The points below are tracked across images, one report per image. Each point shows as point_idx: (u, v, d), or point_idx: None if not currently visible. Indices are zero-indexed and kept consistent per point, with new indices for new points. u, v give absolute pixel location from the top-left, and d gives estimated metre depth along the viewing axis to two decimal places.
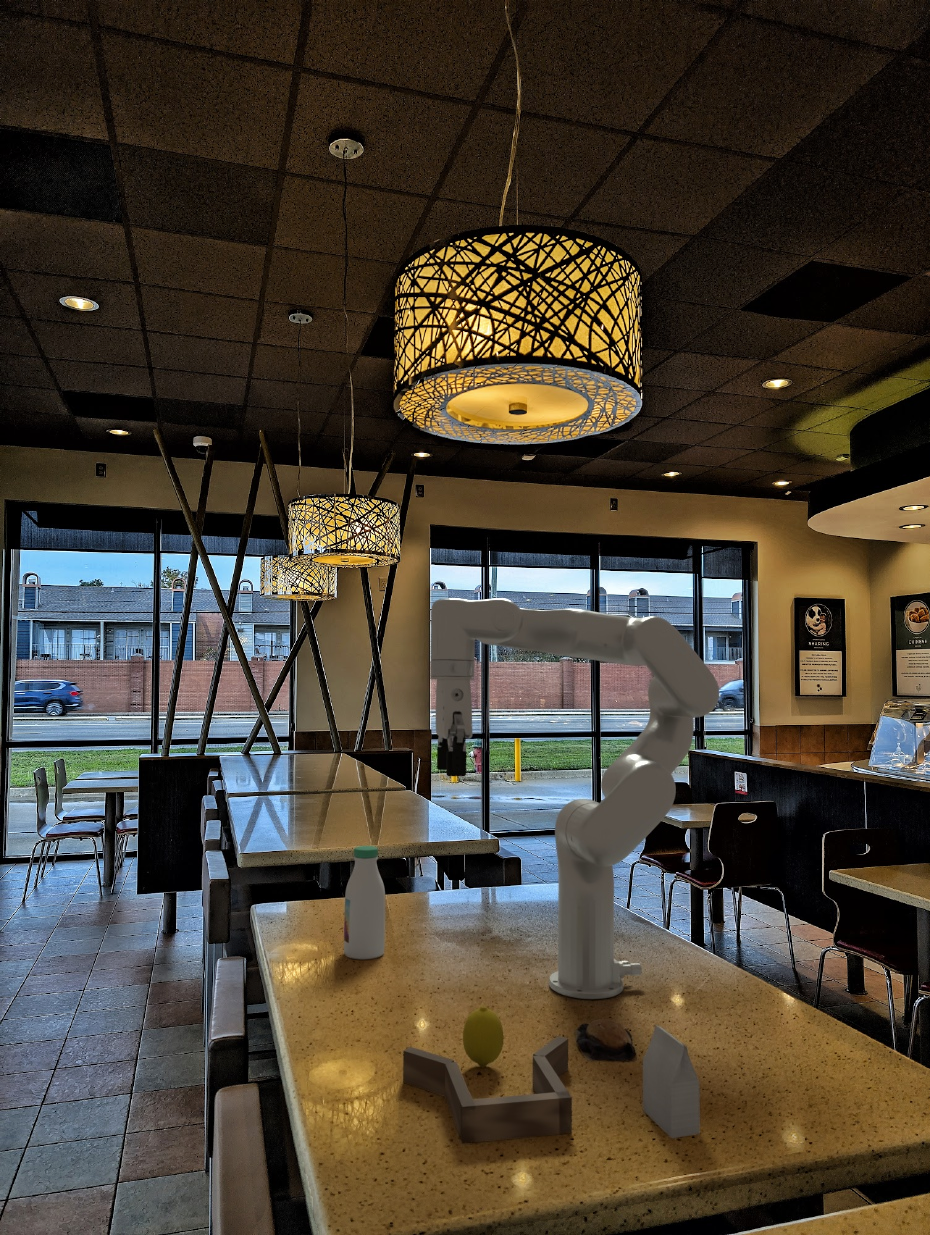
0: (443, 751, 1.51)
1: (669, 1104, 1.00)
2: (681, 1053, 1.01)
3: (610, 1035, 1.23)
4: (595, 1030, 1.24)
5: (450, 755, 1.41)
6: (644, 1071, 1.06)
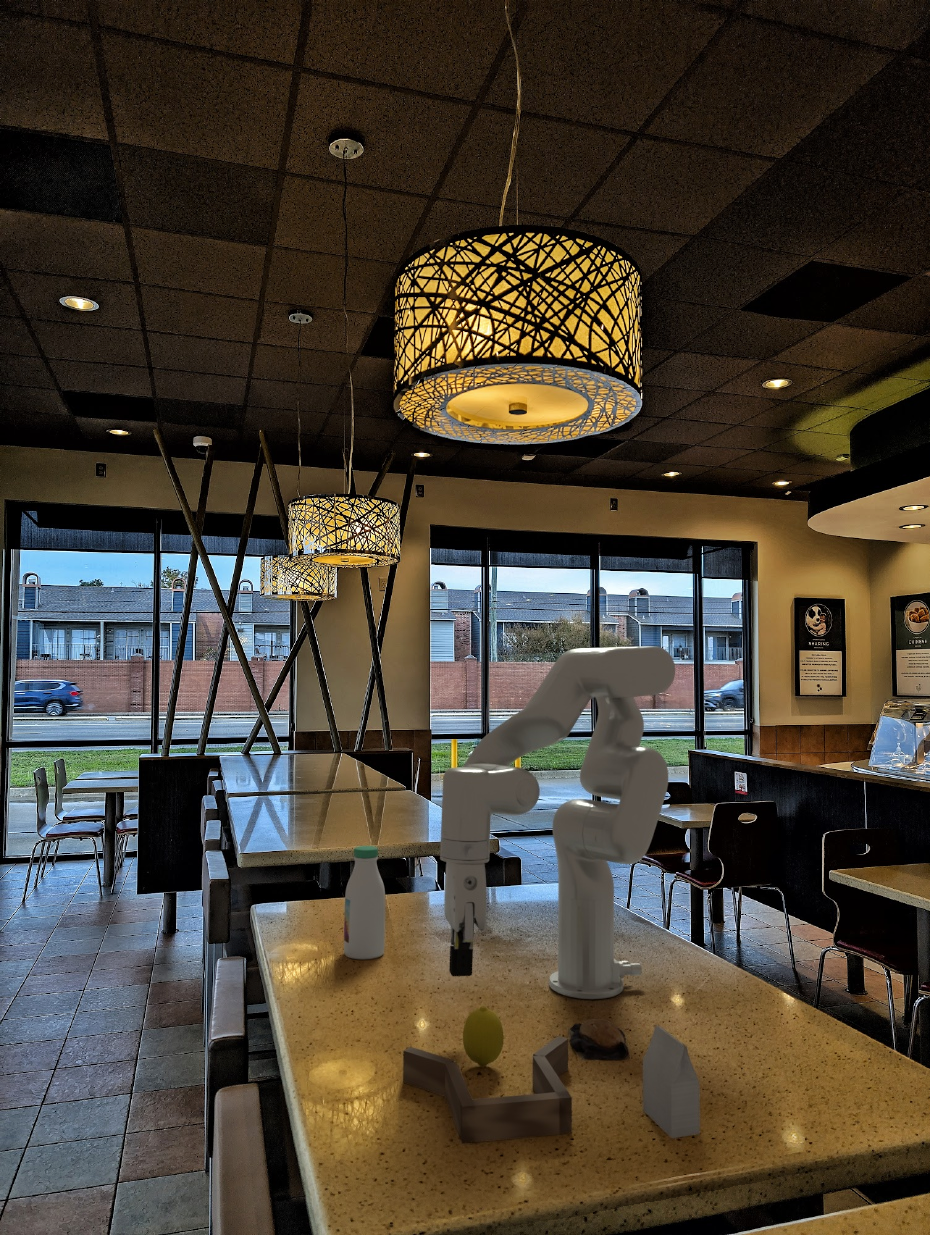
0: None
1: (669, 1104, 1.00)
2: (681, 1053, 1.01)
3: (603, 1035, 1.23)
4: (588, 1029, 1.24)
5: (455, 953, 1.29)
6: (644, 1071, 1.06)
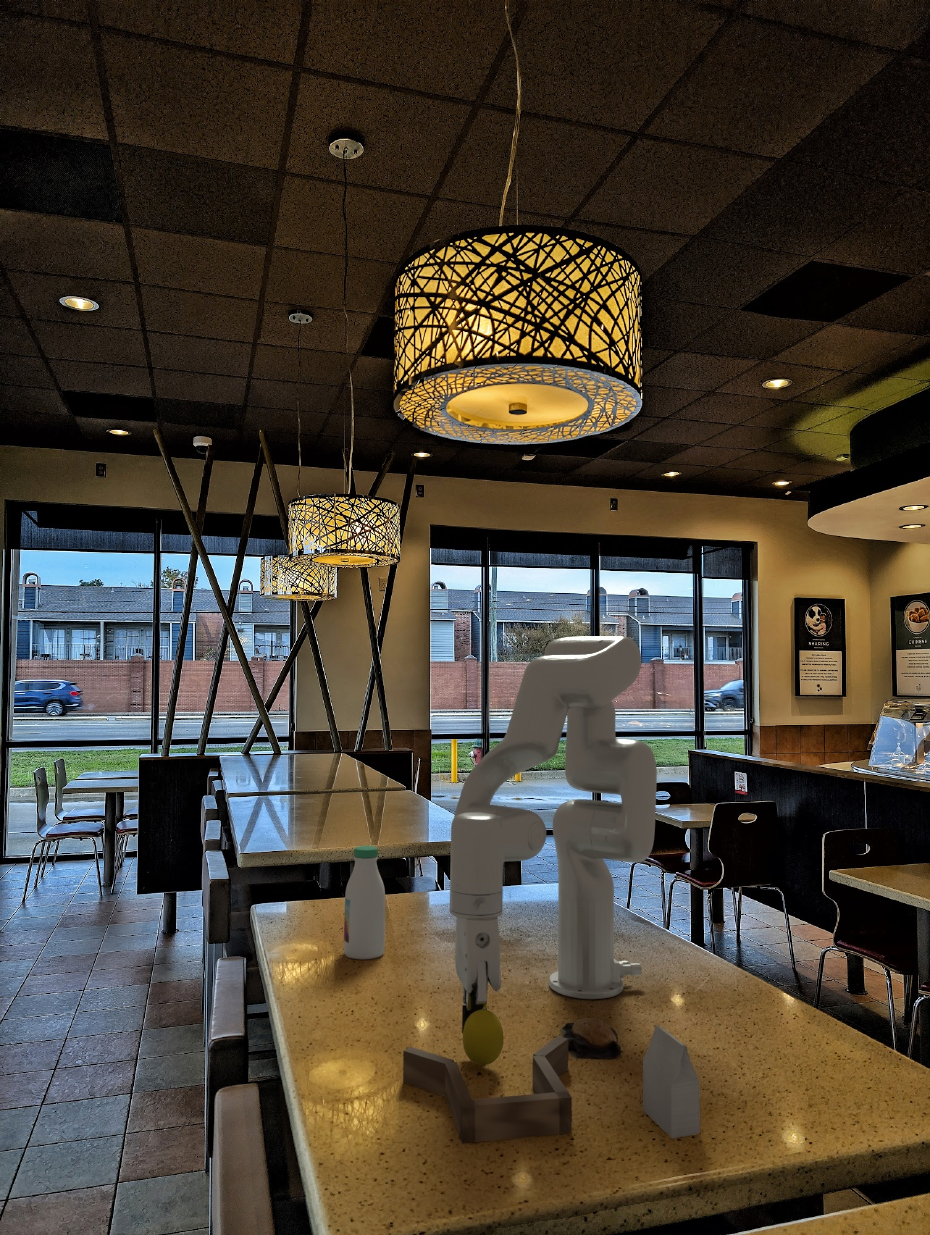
0: None
1: (669, 1104, 1.00)
2: (681, 1053, 1.01)
3: (595, 1034, 1.23)
4: (580, 1028, 1.25)
5: (468, 1013, 1.21)
6: (644, 1071, 1.06)
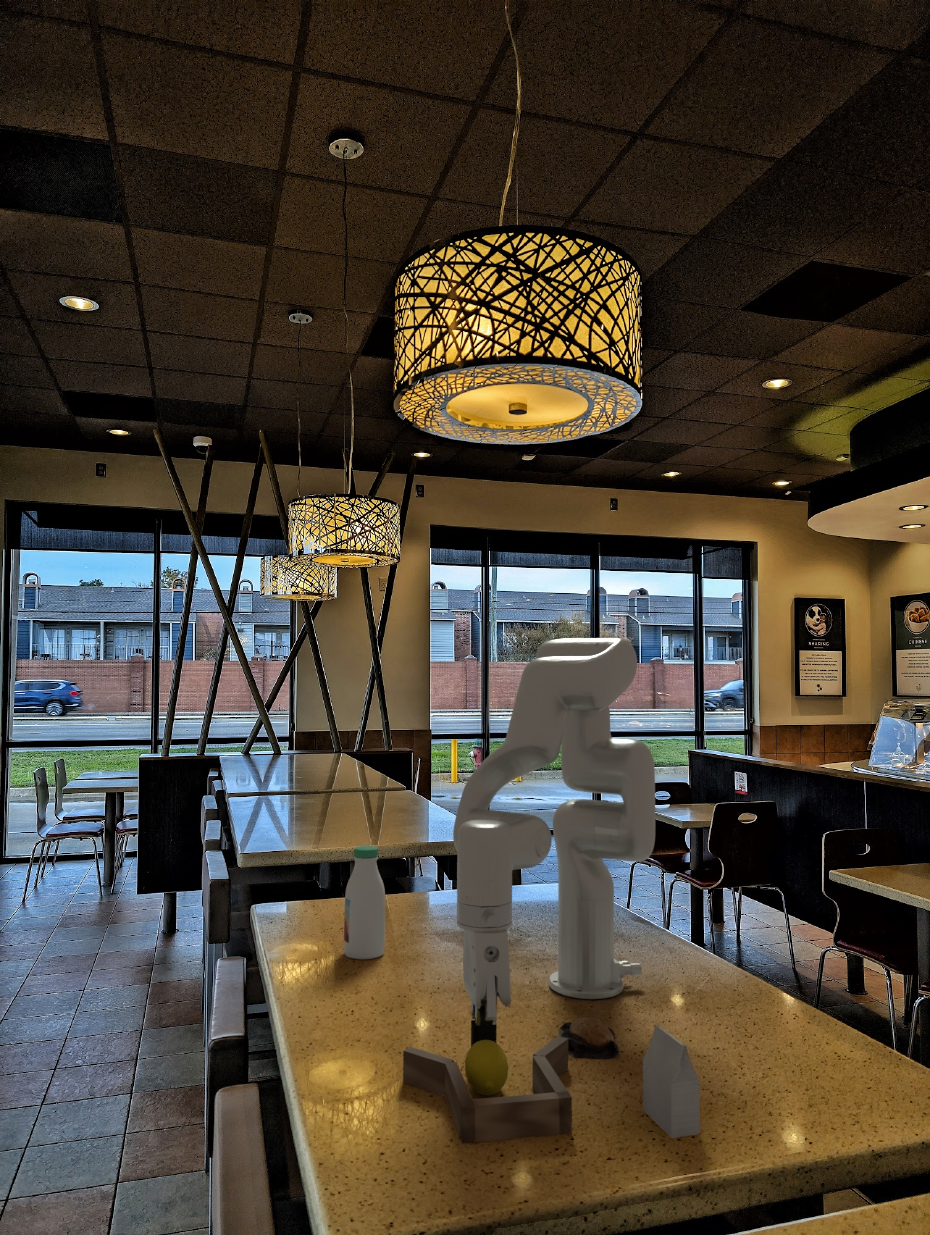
0: None
1: (669, 1104, 1.00)
2: (681, 1053, 1.01)
3: (593, 1034, 1.23)
4: (578, 1028, 1.25)
5: (477, 1029, 1.16)
6: (644, 1071, 1.06)
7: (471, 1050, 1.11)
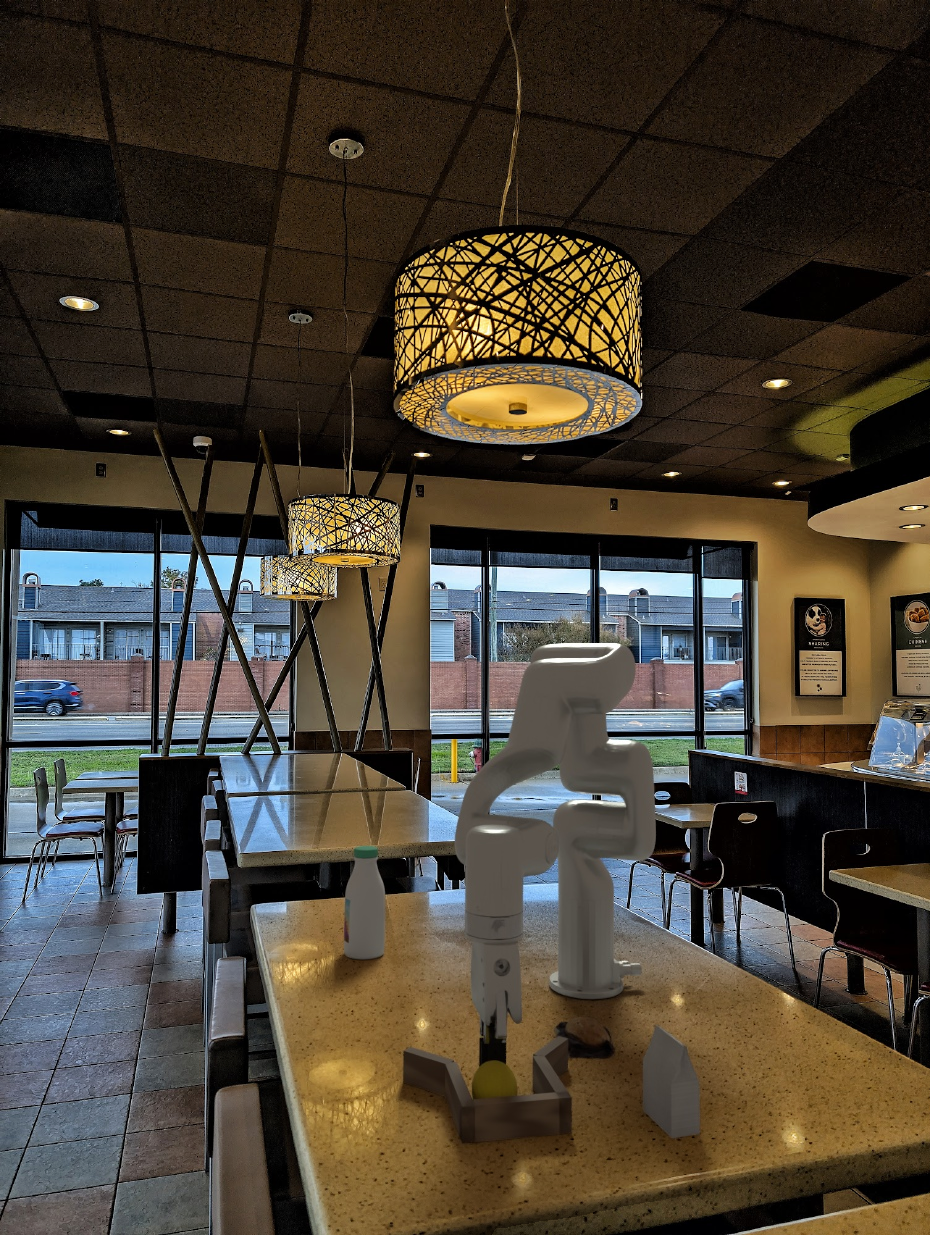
0: None
1: (669, 1104, 1.00)
2: (681, 1053, 1.01)
3: (588, 1033, 1.24)
4: (574, 1028, 1.25)
5: (485, 1047, 1.09)
6: (644, 1071, 1.06)
7: (479, 1072, 1.05)
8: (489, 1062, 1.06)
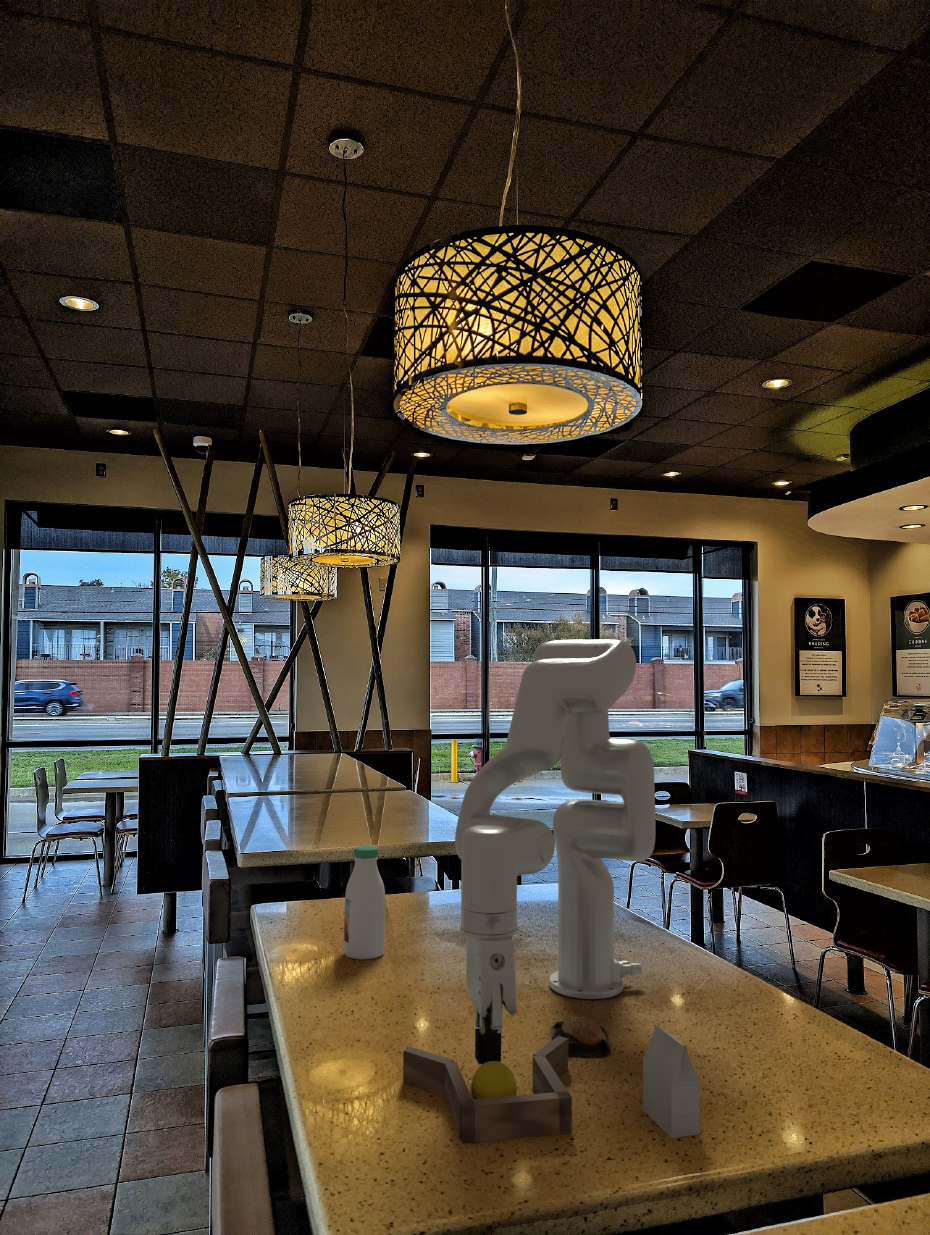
0: None
1: (669, 1104, 1.00)
2: (681, 1053, 1.01)
3: (585, 1033, 1.24)
4: (570, 1027, 1.25)
5: (481, 1038, 1.14)
6: (644, 1071, 1.06)
7: (478, 1070, 1.06)
8: (488, 1062, 1.07)
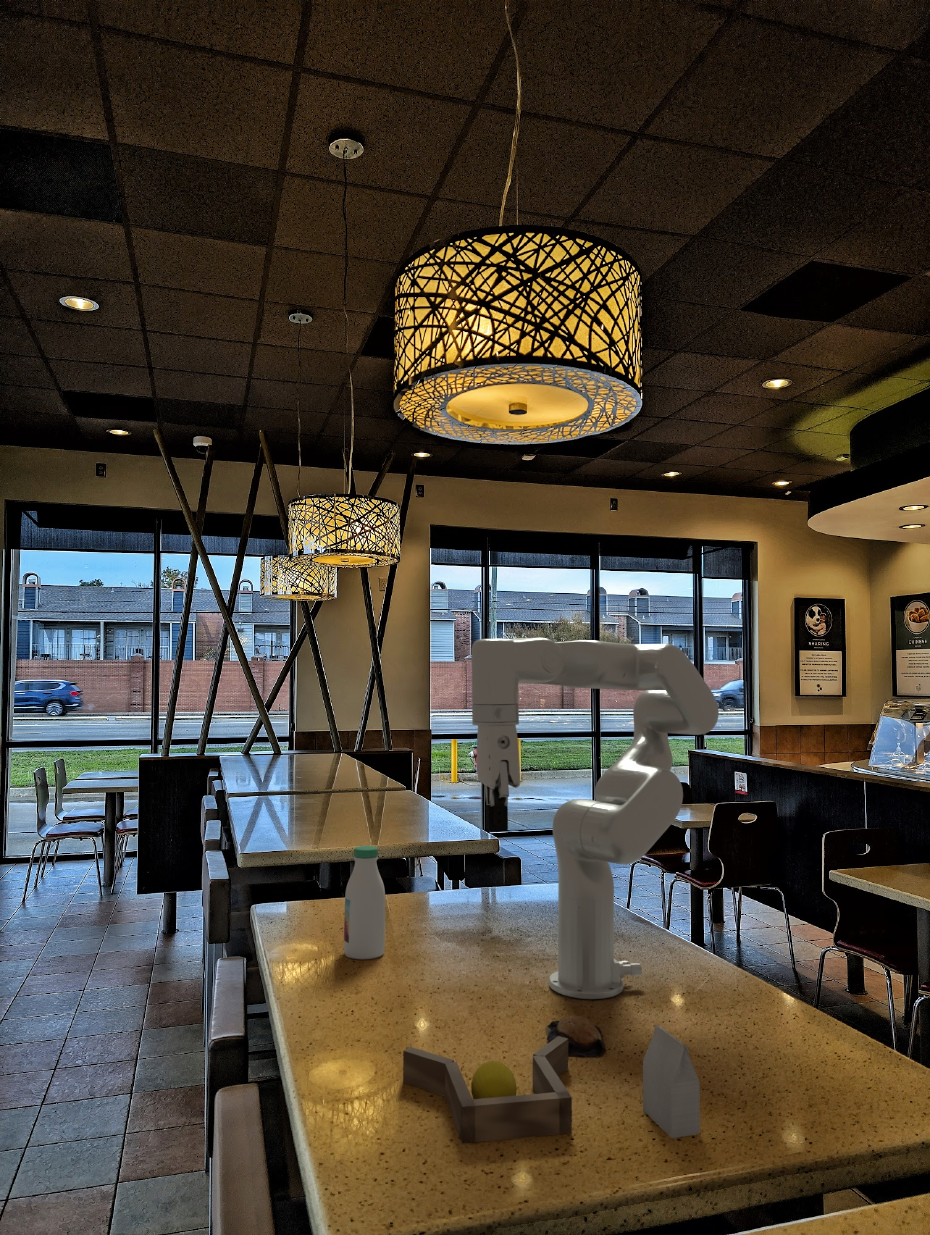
0: None
1: (669, 1104, 1.00)
2: (681, 1053, 1.01)
3: (580, 1032, 1.24)
4: (565, 1027, 1.25)
5: (491, 810, 1.38)
6: (644, 1071, 1.06)
7: (478, 1069, 1.06)
8: None
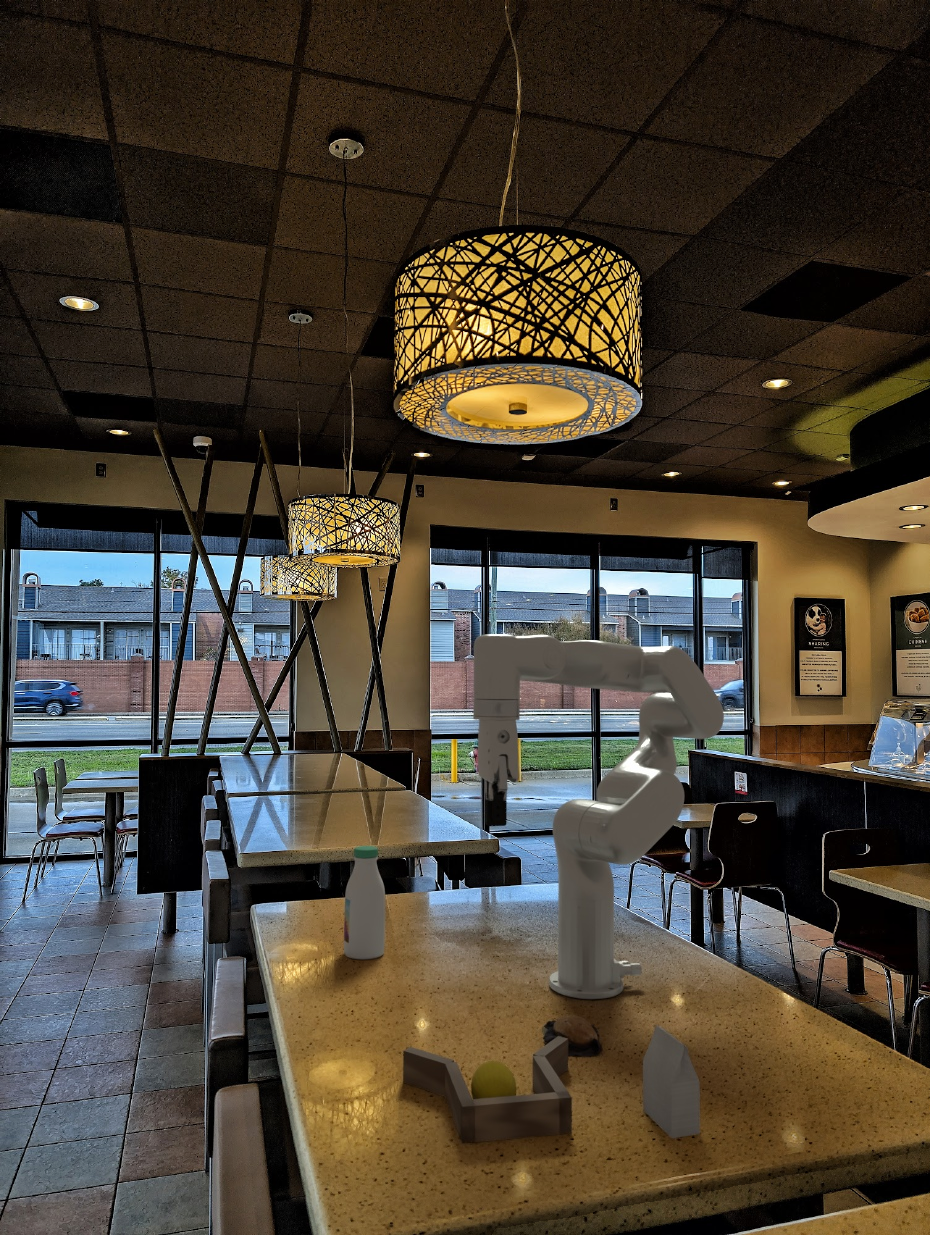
0: None
1: (669, 1104, 1.00)
2: (681, 1053, 1.01)
3: (576, 1032, 1.24)
4: (561, 1026, 1.25)
5: (490, 804, 1.38)
6: (644, 1071, 1.06)
7: (478, 1069, 1.06)
8: (487, 1062, 1.07)
